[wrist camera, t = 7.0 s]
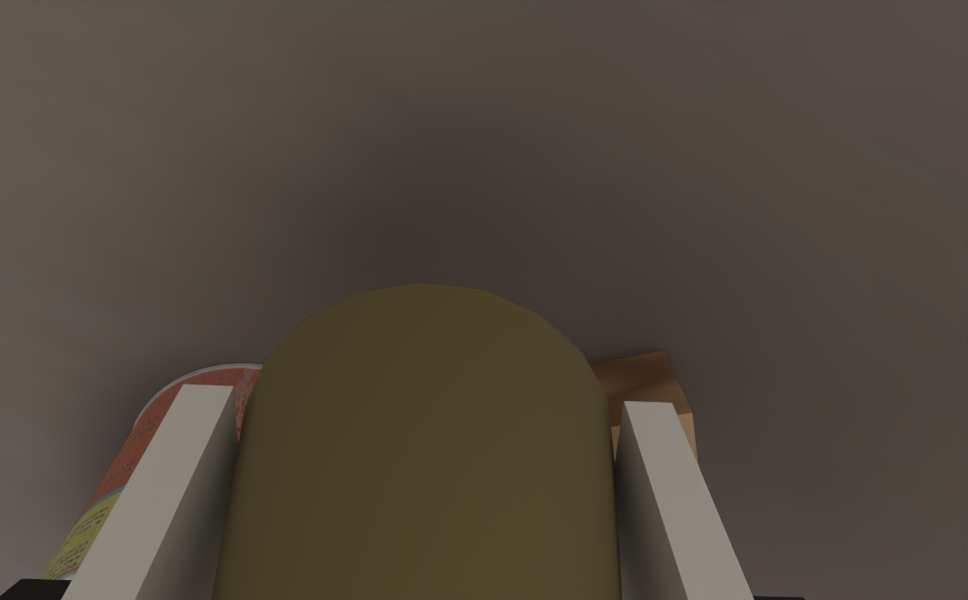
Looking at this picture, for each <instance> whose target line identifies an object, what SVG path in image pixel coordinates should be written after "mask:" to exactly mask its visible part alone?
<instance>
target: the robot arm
mask: <svg viewBox="0 0 968 600" xmlns="http://www.w3.org/2000/svg"><path fill="white" fill-rule="evenodd" d="M237 449H238V436H237V423H236V410H235V397H234V386H217V385H191V384H183V386H182V387H181V389H180V391H179V393H178V394H177V396H176V398H175V400H174V401H173V403H172V405H171V407H170V408H169V410H168V412H167V414H166V416H165V417H164V419H163V421H162V423H161V424H160V426H159V428H158V430H157V431H156V433H155V435H154V437H153V438H152V440H151V442H150V444H149V445H148V447H147V449H146V451H145V453H144V454H143V456H142V458H141V460H140V461H139V463H138V465H137V467H136V468H135V470H134V472H133V474H132V475H131V477H130V479H129V481H128V483H127V484H126V486H125V488H124V490H123V491H122V493H121V495H120V497H119V498H118V500H117V502H116V504H115V505H114V507H113V509H112V511H111V512H110V514H109V516H108V518H107V520H106V521H105V523H104V525H103V527H102V528H101V530H100V532H99V534H98V535H97V537H96V539H95V541H94V542H93V544H92V546H91V548H90V549H89V551H88V553H87V555H86V557H85V558H84V560H83V562H82V564H81V565H80V567H79V569H78V571H77V572H76V574H75V576H74V578H73V579H72V580H50V579H21V580H19V581H18V582H17V583H16V584H14V585H13V586H12V587H11V588H10V589H8V590H7V591H6V592H5V593H3V594H2V595H1V596H0V600H211V597H212V591H213V585H214V580H215V574H216V568H217V562H218V557H219V551H220V545H221V540H222V534H223V528H224V523H225V517H226V511H227V506H228V500H229V494H230V488H231V483H232V477H233V471H234V466H235V460H236V454H237ZM614 465H615V482H616V500H617V517H618V535H619V552H620V570H621V587H622V600H805V599H804V598H802V597H766V596H752V594H751V591H750V589H749V586H748V584H747V582H746V579H745V577H744V574H743V572H742V570H741V567H740V565H739V562H738V560H737V558H736V555H735V553H734V550H733V548H732V546H731V543H730V541H729V538H728V536H727V534H726V531H725V529H724V526H723V524H722V522H721V519H720V517H719V514H718V512H717V510H716V507H715V505H714V502H713V500H712V497H711V495H710V493H709V490H708V488H707V485H706V483H705V481H704V478H703V476H702V473H701V471H700V469H699V466H698V464H697V461H696V459H695V457H694V454H693V452H692V449H691V447H690V445H689V442H688V440H687V437H686V435H685V433H684V430H683V428H682V425H681V423H680V421H679V418H678V416H677V413H676V411H675V409H674V406H673V404H672V403H662V402H636V401H624V405H623V412H622V418H621V425H620V432H619V438H618V445H617V451H616V458H615V464H614Z"/></svg>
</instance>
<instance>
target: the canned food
mask: <svg viewBox="0 0 968 600" xmlns="http://www.w3.org/2000/svg"><path fill="white" fill-rule="evenodd" d="M262 366H263V364H257V363H228V364H220V365H214V366H210V367H205V368H202V369H199V370H196V371H193V372H190V373H188V374H186V375H183V376H181V377H179V378H178V379H176V380H174V381H172V382H171V383H169V384H168V385H166V386H165V387H163V388H162V389H161V390H160V391H159V392H158V393H156V394H155V395H154V396H153V397H152V398H151V400H150V401H149V402H148V403H147V404H146V405H145V407H144V408H143V410H142V411H141V413H140V414H139V416H138V418H137V420H136V422H135V423H134V426H133V429H132V431H131V433H130V435H129V437H128V438H127V440H126V442H125V443H124V445H123V446H122V448H121V450H120V451H119V453H118V455H117V456H116V458H115V460H114V461H113V463H112V464H111V466H110V468H109V469H108V471H107V473H106V474H105V476H104V478H103V479H102V481H101V482H100V484H99V486H98V487H97V489H96V491H95V492H94V494H93V496H92V497H91V499H90V501H89V502H88V504H87V505H86V507H85V509H84V510H83V512H82V514H81V515H80V517H79V519H78V520H77V522H76V523H75V525H74V527H73V528H72V530H71V532H70V533H69V535H68V537H67V538H66V540H65V541H64V543H63V545H62V546H61V548H60V550H59V551H58V553H57V555H56V556H55V558H54V559H53V561H52V563H51V564H50V566H49V568H48V569H47V571H46V573H45V574H44V576H43V577H42V579H50V580H72V579H73V578H74V576H75V574H76V572H77V571H78V569H79V567H80V565H81V564H82V562H83V560H84V558H85V557H86V555H87V553H88V551H89V549H90V548H91V546H92V544H93V542H94V541H95V539H96V537H97V535H98V534H99V532H100V530H101V528H102V527H103V525H104V523H105V521H106V520H107V518H108V516H109V514H110V512H111V511H112V509H113V507H114V505H115V504H116V502H117V500H118V498H119V497H120V495H121V493H122V491H123V490H124V488H125V486H126V484H127V483H128V481H129V479H130V477H131V475H132V474H133V472H134V470H135V468H136V467H137V465H138V463H139V461H140V460H141V458H142V456H143V454H144V453H145V451H146V449H147V447H148V445H149V444H150V442H151V440H152V438H153V437H154V435H155V433H156V431H157V430H158V428H159V426H160V424H161V423H162V421H163V419H164V417H165V416H166V414H167V412H168V410H169V408H170V407H171V405H172V403H173V401H174V400H175V398H176V396H177V394H178V393H179V391H180V389H181V387H182V386H183V384H191V385H217V386H234V397H235V410H236V423H237V436H238V443H239V437H240V432H241V426H242V420H243V415H244V409H245V406H246V403H247V401H248V399H249V396H250V394H251V392H252V389H253V387H254V385H255V383H256V380H257V378H258V376H259V373H260V371H261V369H262Z"/></svg>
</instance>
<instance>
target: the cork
mask: <svg viewBox="0 0 968 600" xmlns="http://www.w3.org/2000/svg"><path fill="white" fill-rule="evenodd" d="M211 600H622V587H621V570H620V552H619V535H618V517H617V500H616V482H615V465H614V447H613V439H612V431H611V424H610V416H609V409H608V401H607V396H606V395H605V393H604V391H603V389H602V387H601V386H600V384H599V382H598V380H597V378H596V376H595V375H594V373H593V371H592V369H591V367H590V366H589V364H588V362H587V360H586V358H585V356H584V355H583V353H582V351H581V350H579V349H578V348H577V347H576V346H575V345H574V344H573V343H571V342H570V341H569V340H568V339H567V338H566V337H565V336H564V335H562V334H561V333H560V332H559V331H558V330H557V329H556V328H554V327H553V326H552V325H551V324H550V323H549V322H548V321H546V320H545V319H544V318H543V317H542V316H541V315H540V314H538V313H535V312H533V311H531V310H529V309H526V308H524V307H522V306H519V305H517V304H515V303H512V302H510V301H508V300H505V299H503V298H501V297H499V296H496V295H494V294H492V293H489V292H487V291H485V290H481V289H472V288H464V287H455V286H447V285H438V284H430V283H421V282H419V283H413V284H408V285H402V286H396V287H390V288H384V289H378V290H372V291H367V292H361V293H357V294H355V295H353V296H351V297H349V298H347V299H345V300H343V301H341V302H339V303H337V304H335V305H333V306H331V307H329V308H327V309H325V310H323V311H321V312H319V313H317V314H315V315H313V316H311V317H309V318H308V319H306V320H304V321H303V322H302V323H301V324H300V325H299V326H298V327H297V328H296V329H295V330H294V331H293V332H292V333H291V334H290V335H289V336H288V337H287V338H286V339H285V340H284V341H283V342H282V343H281V344H280V345H279V346H278V348H277V349H276V350H275V351H274V352H273V353H272V354H271V355H270V356H269V357H268V358H267V359H266V360H265V362H264V364H263V366H262V369H261V371H260V373H259V376H258V378H257V380H256V383H255V385H254V387H253V389H252V392H251V394H250V396H249V399H248V401H247V403H246V406H245V409H244V415H243V420H242V426H241V432H240V437H239V443H238V449H237V454H236V460H235V466H234V471H233V477H232V483H231V488H230V494H229V500H228V506H227V511H226V517H225V523H224V528H223V534H222V540H221V545H220V551H219V557H218V562H217V568H216V574H215V580H214V585H213V591H212V597H211Z"/></svg>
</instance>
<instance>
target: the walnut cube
mask: <svg viewBox="0 0 968 600" xmlns="http://www.w3.org/2000/svg"><path fill="white" fill-rule="evenodd" d="M589 366H590V367H591V369H592V371H593V373H594V375H595V376H596V378H597V380H598V382H599V384H600V386H601V387H602V389H603V391H604V393H605V395H606V396H607V401H608V409H609V416H610V424H611V431H612V439H613V447H614V464H615V458H616V451H617V445H618V438H619V432H620V425H621V418H622V412H623V405H624V401H636V402H662V403H672V404H673V406H674V409H675V411H676V413H677V416H678V418H679V421H680V423H681V425H682V428H683V430H684V433H685V435H686V437H687V440H688V442H689V445H690V447H691V449H692V452H693V454H694V457H695V459H696V461H697V464H698V459H697V450H696V441H695V432H694V423H693V414H692V411H691V408H690V406H689V404H688V402H687V400H686V397H685V395H684V393H683V391H682V388H681V386H680V384H679V382H678V380H677V377H676V375H675V373H674V371H673V369H672V366H671V364H670V362H669V360H668V358H667V355H666V353H665V351H664V350H661V351H656V352H650V353H645V354H640V355H634V356H629V357H624V358H618V359H613V360H607V361H602V362H597V363H591V364H589Z"/></svg>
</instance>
